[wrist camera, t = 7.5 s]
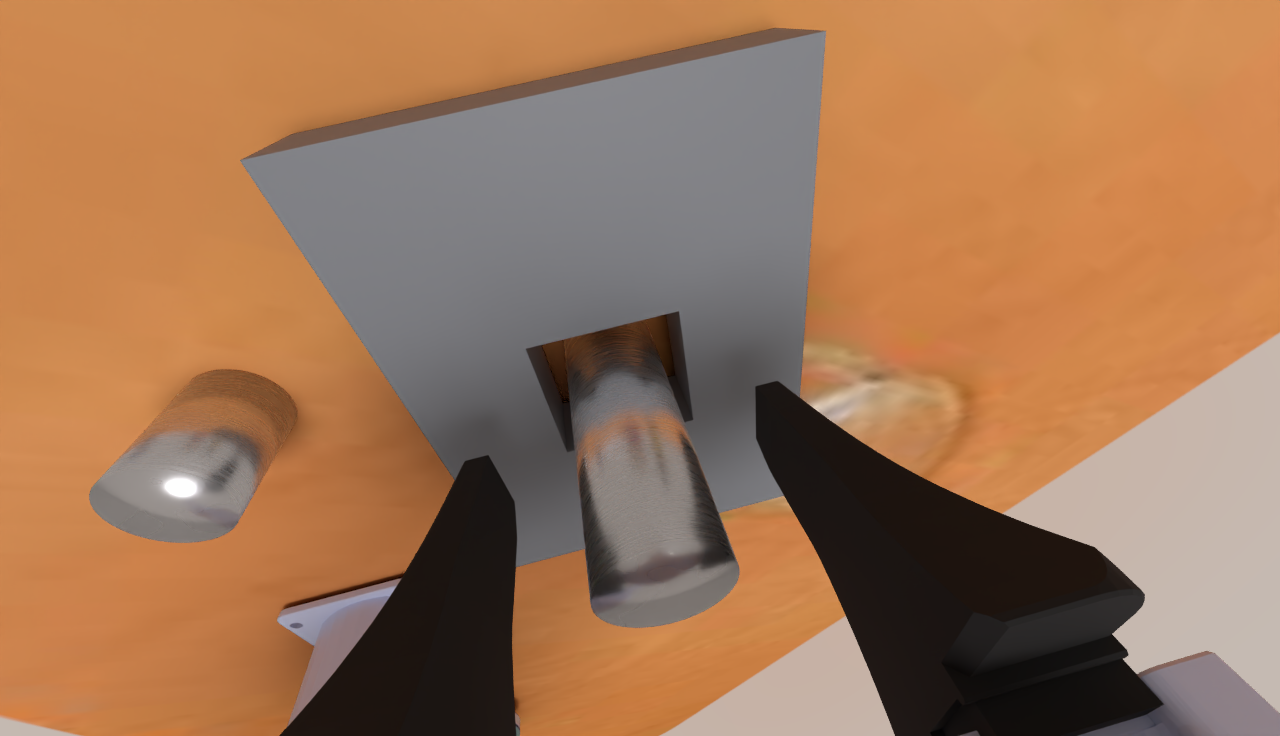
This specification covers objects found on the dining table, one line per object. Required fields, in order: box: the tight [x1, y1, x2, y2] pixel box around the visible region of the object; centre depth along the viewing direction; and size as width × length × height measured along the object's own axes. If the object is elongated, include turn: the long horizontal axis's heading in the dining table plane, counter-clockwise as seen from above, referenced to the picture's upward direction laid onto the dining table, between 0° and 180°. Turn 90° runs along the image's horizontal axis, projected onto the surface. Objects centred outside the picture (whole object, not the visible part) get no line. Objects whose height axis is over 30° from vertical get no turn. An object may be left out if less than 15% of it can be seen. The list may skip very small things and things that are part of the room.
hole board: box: [240, 28, 826, 567], centre depth 15 cm, size 16×12×2 cm
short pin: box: [89, 369, 297, 543], centre depth 14 cm, size 3×3×4 cm
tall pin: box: [564, 320, 739, 628], centre depth 13 cm, size 3×3×9 cm
